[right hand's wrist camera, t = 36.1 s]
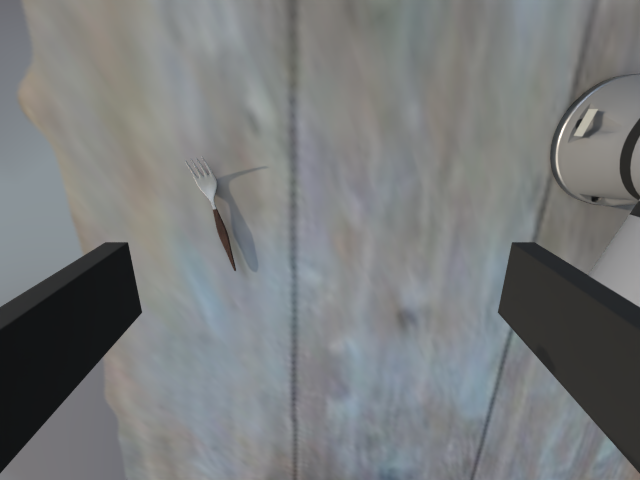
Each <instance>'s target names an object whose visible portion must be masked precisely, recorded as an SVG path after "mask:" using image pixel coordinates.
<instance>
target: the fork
mask: <svg viewBox="0 0 640 480" xmlns="http://www.w3.org/2000/svg"><path fill="white" fill-rule="evenodd" d="M196 159H197V158H196ZM202 159H203V161H204V163H205V165H206V167H207V169H208V171H209V173H210V175H208V174H207V172H206V171H205V169H204V168H203V166H202V165H201V163H200V162H199V160H198V159H197V161H198V163H199V165H200V167H201V169H202V171H203V173H204V176H203V175H202V174H201V173H200V171H199V170H198V168H197V167H196V165H195V164H194V162H193V161H192V160H191V161H192V163H193V165H194V167H195V169H196V171H197V173H198V175H199V177H197V176H196V174H195V173H194V171H193V170H192V168H191V167H190V166H189V164H188V163H187V161H186V160H185V162H186V164H187V165H188V167H189V169H190V171H191V173H192V174H193V176H194V179H195V181H196V183H197V185H198V187H199V188H200V190H201V191H202V192H203V193H204V194H205V195H206V196H207V197H208V199H209V200H210V202H211V204H212V208H213V212H214V217H215V222H216V227H217V231H218V234H219V237H220V239H221V242H222V244H223V246H224V248H225V250H226V253H227V255H228V257H229V260H230V262H231V264H232V266H233V269H234V271H236V268H235V263H234V259H233V255H232V251H231V246H230V242H229V237H228V233H227V231H226V228H225V226H224V223H223V221H222V219H221V217H220V215H219V212H218V210H217V208H216V206H215V203H214V197H215V193H216V189H217V180H216V178H215V176H214V174H213V172H212V171H211V169H210V167H209V166H208V164H207V163H206V161H205V160H204V158H203V157H202Z"/></svg>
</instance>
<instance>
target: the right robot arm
mask: <svg viewBox="0 0 640 480" xmlns="http://www.w3.org/2000/svg"><path fill="white" fill-rule="evenodd" d="M550 159H551V167H552V171H553V174H554V177H555V179H556V181H557V183H558V184H559V185H560V187H561V188H562V189H563V190H564V191H565V192H566V193H568V194H569V195H570V196H572V197H574V198H576V199H578V200H581V201H584V202H587V203H590V204H595V205H603V206H619V205H635V204H636V206H635V207H634V209H633V210H632V212H631V213H630V214H629V216H628V217H627V219H626V220H625V222H624V223H623V224H622V226H621V227H620V229H619V230H618V232H617V233H616V235H615V236H614V238H613V239H612V241H611V242H610V244H609V245H608V247H607V248H606V250H605V251H604V252H603V254H602V255H601V257H600V258H599V260H598V261H597V263H596V264H595V266H594V267H593V269H592V270H591V272H590V273H589V275H587V274H585V273H583V272H582V271H580V270H578V269H577V268H575V267H574V266H572V265H570V264H569V263H567V262H565V261H564V260H562V259H561V258H559V257H557V256H556V255H554V254H552V253H551V252H549V251H548V250H546V249H544V248H543V247H541V246H539V245H538V244H536V243H535V242H512V246H511V251H510V255H509V260H508V265H507V270H506V275H505V280H504V285H503V290H502V295H501V300H500V305H499V310H498V313H499V314H500V315H501V316H502V318H503V319H504V320H505V321H506V322H507V323H508V324H509V326H510V327H511V328H512V329H513V330H514V331H515V332H516V333H517V335H518V336H519V337H520V338H521V339H522V340H523V341H524V343H525V344H526V345H527V346H528V347H529V348H530V349H531V350H532V352H533V353H534V354H535V355H536V356H537V357H538V358H539V360H540V361H541V362H542V363H543V364H544V365H545V366H546V367H547V369H548V370H549V371H550V372H551V373H552V374H553V375H554V377H555V378H556V379H557V380H558V381H559V382H560V383H561V385H562V386H563V387H564V388H565V389H566V390H567V391H568V392H569V394H570V395H571V396H572V397H573V398H574V399H575V400H576V402H577V403H578V404H579V405H580V406H581V407H582V408H583V409H584V411H585V412H586V413H587V414H588V415H589V416H590V417H591V419H592V420H593V421H594V422H595V423H596V424H597V425H598V426H599V428H600V429H601V430H602V431H603V432H604V433H605V434H606V436H607V437H608V438H609V439H610V440H611V441H612V442H613V443H614V445H615V446H616V447H617V448H618V449H619V450H620V451H621V453H622V454H623V455H624V456H625V457H626V458H627V459H628V460H629V462H630V463H631V464H632V465H633V466H634V467H635V468H636V470H637V471H638V472H639V473H640V74H632V75H624V76H618V77H614V78H611V79H608V80H606V81H603V82H601V83H599V84H597V85H596V86H594V87H592V88H591V89H589V90H588V91H587V92H585V93H584V94H583V95H582V96H580V97H579V98H578V99H577V100H576V101H575V102H574V103H573V104H572V105H571V107H570V108H569V109H568V110H567V112H566V113H565V114H564V116H563V118H562V119H561V121H560V123H559V125H558V127H557V129H556V132H555V134H554V137H553V141H552V145H551V157H550ZM141 313H142V310H141V305H140V300H139V295H138V290H137V285H136V280H135V275H134V270H133V265H132V260H131V255H130V251H129V246H128V242H105V243H104V244H102V245H101V246H99V247H97V248H96V249H94V250H92V251H91V252H89V253H88V254H86V255H84V256H83V257H81V258H79V259H78V260H76V261H75V262H73V263H71V264H70V265H68V266H66V267H65V268H63V269H62V270H60V271H58V272H57V273H55V274H53V275H52V276H50V277H49V278H47V279H45V280H44V281H42V282H40V283H39V284H37V285H35V286H34V287H32V288H31V289H29V290H27V291H26V292H24V293H22V294H21V295H19V296H18V297H16V298H14V299H13V300H11V301H9V302H8V303H6V304H5V305H3V306H1V307H0V473H1V472H2V471H3V470H4V468H5V467H6V466H7V465H8V464H9V463H10V462H11V460H12V459H13V458H14V457H15V456H16V455H17V454H18V453H19V451H20V450H21V449H22V448H23V447H24V446H25V445H26V443H27V442H28V441H29V440H30V439H31V438H32V437H33V436H34V434H35V433H36V432H37V431H38V430H39V429H40V428H41V426H42V425H43V424H44V423H45V422H46V421H47V420H48V419H49V417H50V416H51V415H52V414H53V413H54V412H55V411H56V409H57V408H58V407H59V406H60V405H61V404H62V403H63V401H64V400H65V399H66V398H67V397H68V396H69V395H70V394H71V392H72V391H73V390H74V389H75V388H76V387H77V386H78V385H79V383H80V382H81V381H82V380H83V379H84V378H85V377H86V375H87V374H88V373H89V372H90V371H91V370H92V369H93V367H94V366H95V365H96V364H97V363H98V362H99V361H100V360H101V358H102V357H103V356H104V355H105V354H106V353H107V352H108V350H109V349H110V348H111V347H112V346H113V345H114V344H115V343H116V341H117V340H118V339H119V338H120V337H121V336H122V335H123V333H124V332H125V331H126V330H127V329H128V328H129V327H130V326H131V324H132V323H133V322H134V321H135V320H136V319H137V318H138V316H139V315H140V314H141Z"/></svg>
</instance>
